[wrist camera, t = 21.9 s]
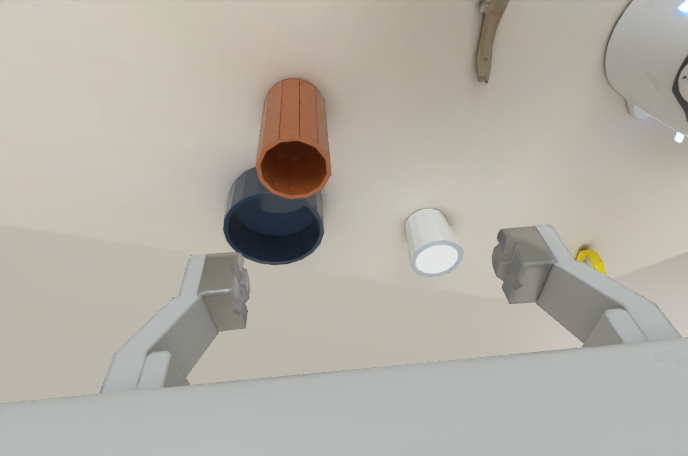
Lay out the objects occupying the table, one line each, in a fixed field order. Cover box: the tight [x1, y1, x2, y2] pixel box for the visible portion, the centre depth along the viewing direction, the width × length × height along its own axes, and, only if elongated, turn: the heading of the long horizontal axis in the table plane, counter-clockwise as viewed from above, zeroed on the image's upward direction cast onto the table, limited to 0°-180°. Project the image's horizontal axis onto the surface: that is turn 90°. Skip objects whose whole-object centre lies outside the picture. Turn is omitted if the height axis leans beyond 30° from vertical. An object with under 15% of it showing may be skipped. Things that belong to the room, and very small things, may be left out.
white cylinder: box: [405, 208, 463, 277], centre depth 56 cm, size 7×7×7 cm
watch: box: [576, 250, 605, 275], centre depth 64 cm, size 6×3×6 cm, turn 9°
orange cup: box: [256, 79, 331, 199], centre depth 40 cm, size 6×6×12 cm
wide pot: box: [223, 167, 324, 265], centre depth 51 cm, size 12×12×6 cm
